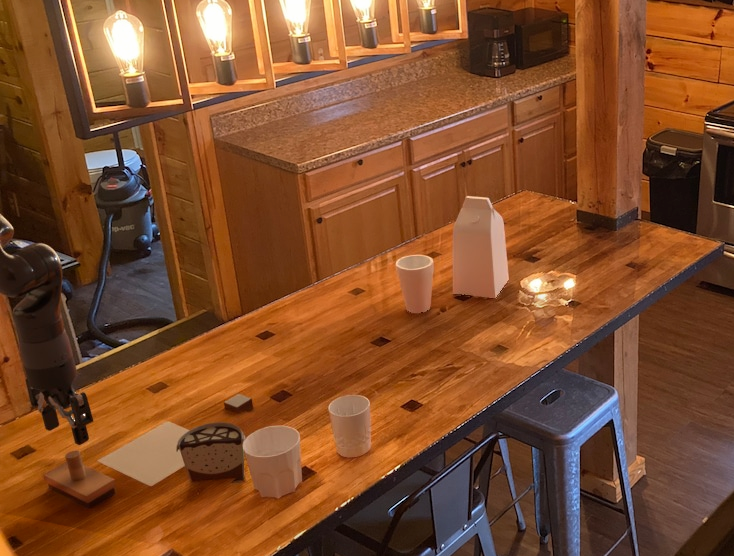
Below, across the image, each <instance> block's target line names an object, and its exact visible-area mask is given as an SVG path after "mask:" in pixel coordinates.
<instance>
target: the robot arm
mask: <svg viewBox="0 0 734 556" xmlns="http://www.w3.org/2000/svg"><path fill="white" fill-rule="evenodd" d="M14 235H15V230H14V226H12V224H11V223H10V222H9V220H7V219H6V217H4V216H3V215H2V214H1V213H0V294H1V295H3V296H5V297H9V298H19V297H23V296H25V297H23V299H21V301H19V303H17V304H16V305H15V307H13V309H12V320H13V324H14V329H15V332H16V336H17V338H18V339H17V340H18V347H19V353H20V357H21V361H22V365H23V369H24V372H25V376H26V378H25V384H26V388H27V392H28V397H29V401H30V406H32V408H36V407H37V411H38V412H39V413H40V414H41V417H42V421H43V425H44V429H45V430H46V431H48V432H50V431H53V430H55V429H57V428H59V426H60V421H59V417H58V414H59V415H60V416H61V417H60V418H62V419H66V420H67V422H68V424H69V425H70V429H71V431H72V437H73V441H74V444H75V445H77V446H81V445H83V444H85V443H86V442H88V441H89V440H90V437H89V433H88V429H87V428H88V427H87V426H88V425H90V424H92V423H93V422H94V418H93V413H92V410H91V406H90V403H89V399H88V395H87V394H86V393H85V392H84V391H82V392H80V393H76V391H75V389H74V387H73V382H74V380H75V379H76V378H77V377H78V370H77V366H76V361H75V358H74V355H73V349H72V345H71V341H70V337H69V336H68V334H67V331H66V327H65V324H64V319H63V315H62V311H61V300H62V286H63V266H62V261H61V259H60V257H59V255H58V253H57V252H56V251H55V249H53V248H52V247H51V246H49V245H48V244H45V243H42V242H33V243H30V244H28V245H26V246H23V247H20V248H18V249H16V250H14V251H12V252H9V253H7V252H6V251H5V250H4V249H3V248H4V247H6V245H8V244H9V243H10V241H11V240H12V239H13V237H14ZM37 395H38V397H37ZM69 408H71V409H69ZM67 409H69V410H67ZM57 412H58V413H57Z"/></svg>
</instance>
